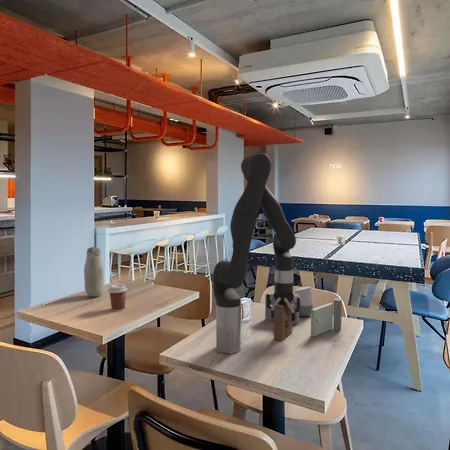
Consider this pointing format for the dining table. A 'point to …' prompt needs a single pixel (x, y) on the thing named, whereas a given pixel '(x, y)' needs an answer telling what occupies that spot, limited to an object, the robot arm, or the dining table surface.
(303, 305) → the smart speaker
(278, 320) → the wooden block
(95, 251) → the beige bottle
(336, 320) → the wall frame
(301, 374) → the dining table surface
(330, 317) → the door
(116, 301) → the coffee cup
